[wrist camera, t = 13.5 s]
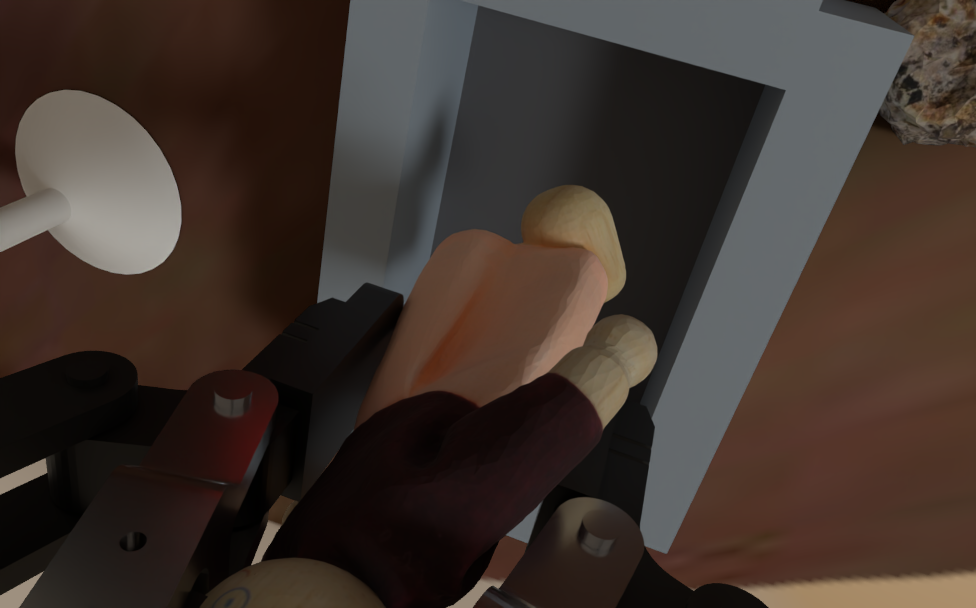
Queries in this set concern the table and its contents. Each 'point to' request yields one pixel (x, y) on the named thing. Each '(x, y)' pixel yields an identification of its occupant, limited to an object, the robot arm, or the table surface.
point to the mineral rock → (935, 74)
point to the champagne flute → (93, 184)
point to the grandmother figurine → (464, 417)
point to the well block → (615, 167)
